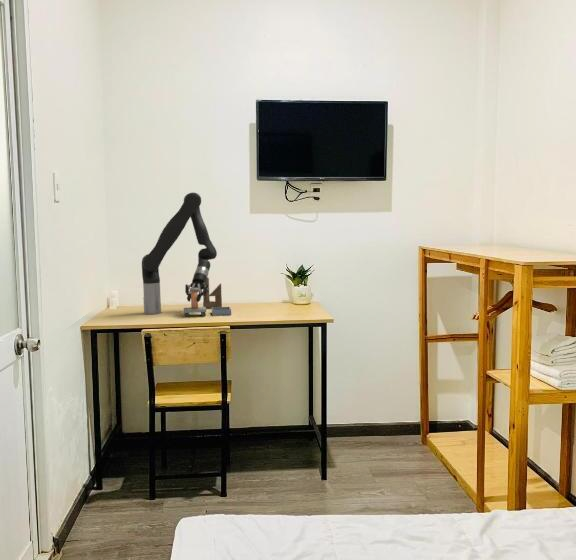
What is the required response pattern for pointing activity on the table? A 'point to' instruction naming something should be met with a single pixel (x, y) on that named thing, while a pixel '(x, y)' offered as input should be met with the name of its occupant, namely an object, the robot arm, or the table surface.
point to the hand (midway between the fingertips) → (193, 300)
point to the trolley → (189, 310)
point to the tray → (221, 311)
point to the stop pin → (194, 298)
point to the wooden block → (216, 293)
